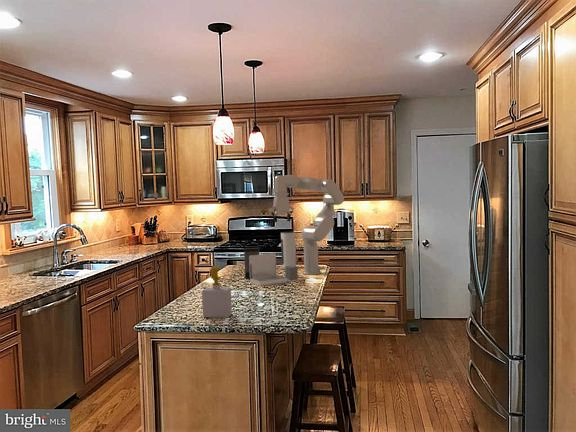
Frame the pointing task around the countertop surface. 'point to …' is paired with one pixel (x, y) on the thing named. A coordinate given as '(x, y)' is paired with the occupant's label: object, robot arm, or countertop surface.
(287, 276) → the block
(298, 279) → the flat beige panel
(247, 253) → the electronic device
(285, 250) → the speaker
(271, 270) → the case
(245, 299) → the countertop surface
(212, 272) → the soap bottle
